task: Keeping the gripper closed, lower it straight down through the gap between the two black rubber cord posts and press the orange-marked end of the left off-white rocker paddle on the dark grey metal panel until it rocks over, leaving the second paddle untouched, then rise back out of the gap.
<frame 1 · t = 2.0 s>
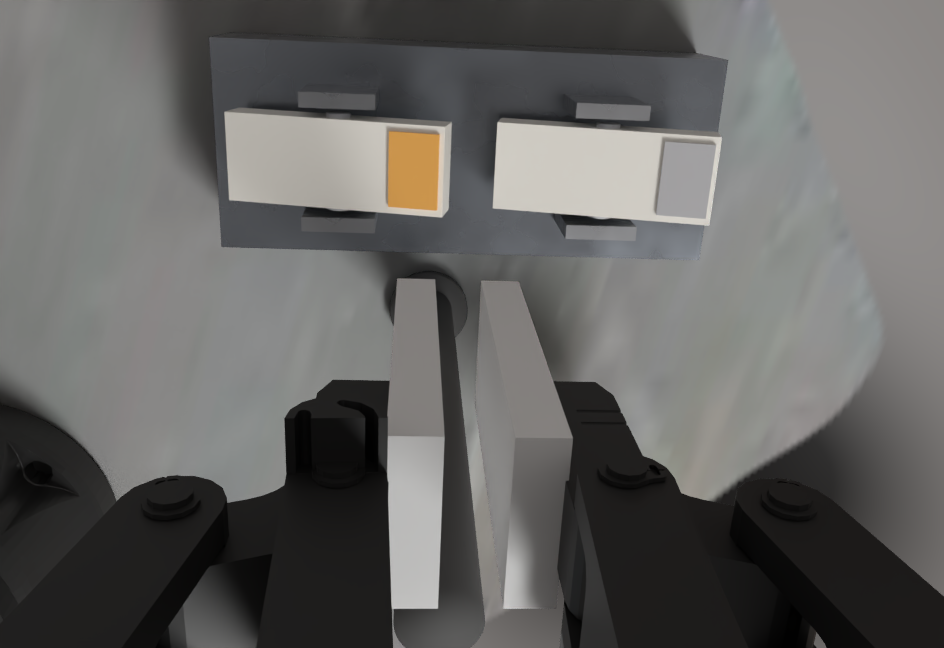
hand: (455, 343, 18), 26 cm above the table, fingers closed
paddle b: (603, 171, 36), point 7 cm above the table, hinge at -12.0°
panel: (464, 139, 42), on the table
paddle a: (338, 161, 35), point 7 cm above the table, hinge at -12.0°
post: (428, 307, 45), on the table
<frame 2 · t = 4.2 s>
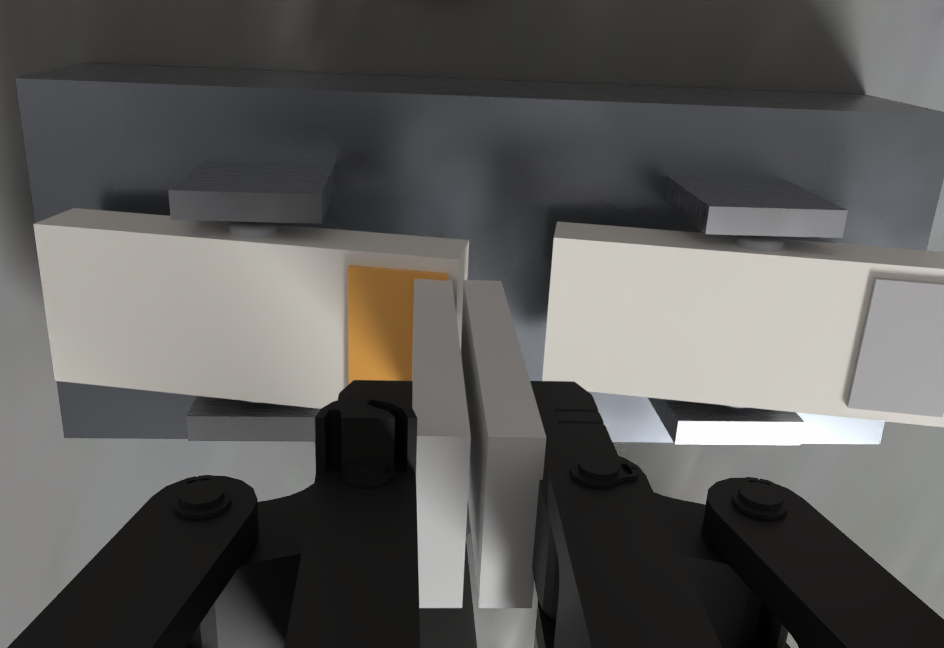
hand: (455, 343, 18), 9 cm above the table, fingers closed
paddle b: (746, 322, 20), point 7 cm above the table, hinge at -12.0°
panel: (482, 235, 26), on the table
paddle a: (255, 313, 19), point 7 cm above the table, hinge at -11.8°, touching gripper
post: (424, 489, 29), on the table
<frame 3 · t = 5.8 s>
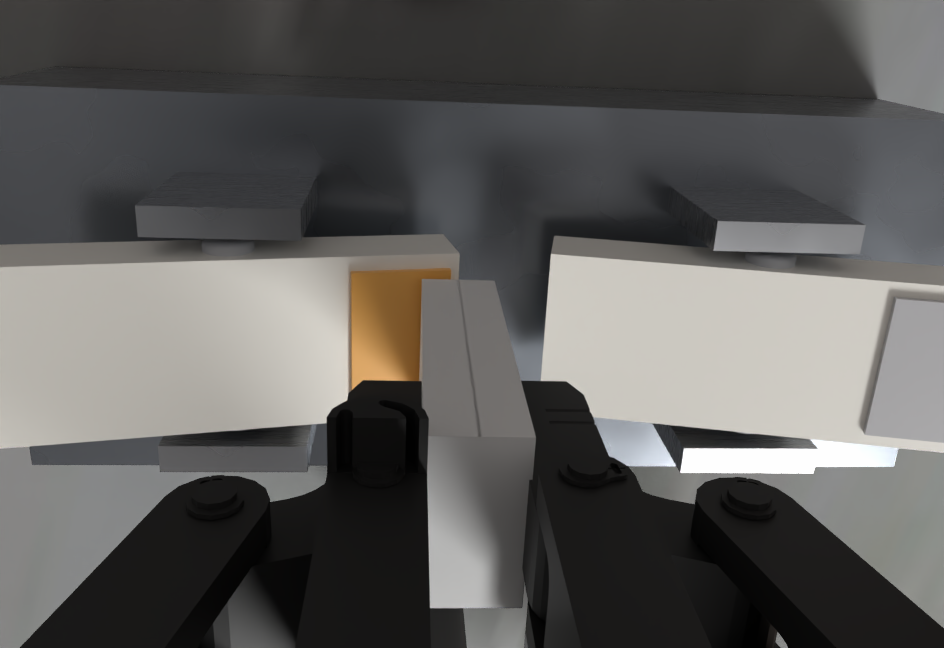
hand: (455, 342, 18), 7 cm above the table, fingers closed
paddle b: (756, 343, 18), point 7 cm above the table, hinge at -12.0°
panel: (475, 246, 25), on the table
paddle a: (233, 335, 18), point 7 cm above the table, hinge at 10.6°, touching gripper
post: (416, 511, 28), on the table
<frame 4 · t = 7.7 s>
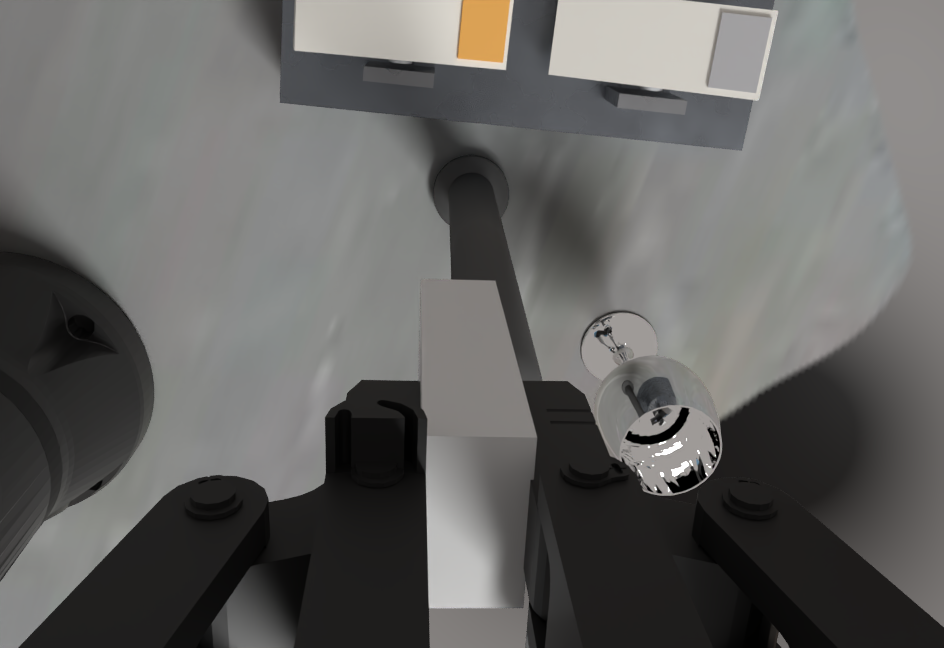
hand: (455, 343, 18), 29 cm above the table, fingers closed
paddle b: (659, 43, 37), point 7 cm above the table, hinge at -12.0°
panel: (519, 23, 43), on the table
paddle a: (404, 14, 36), point 7 cm above the table, hinge at 11.2°
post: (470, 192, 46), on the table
wineglass: (618, 346, 50), on the table
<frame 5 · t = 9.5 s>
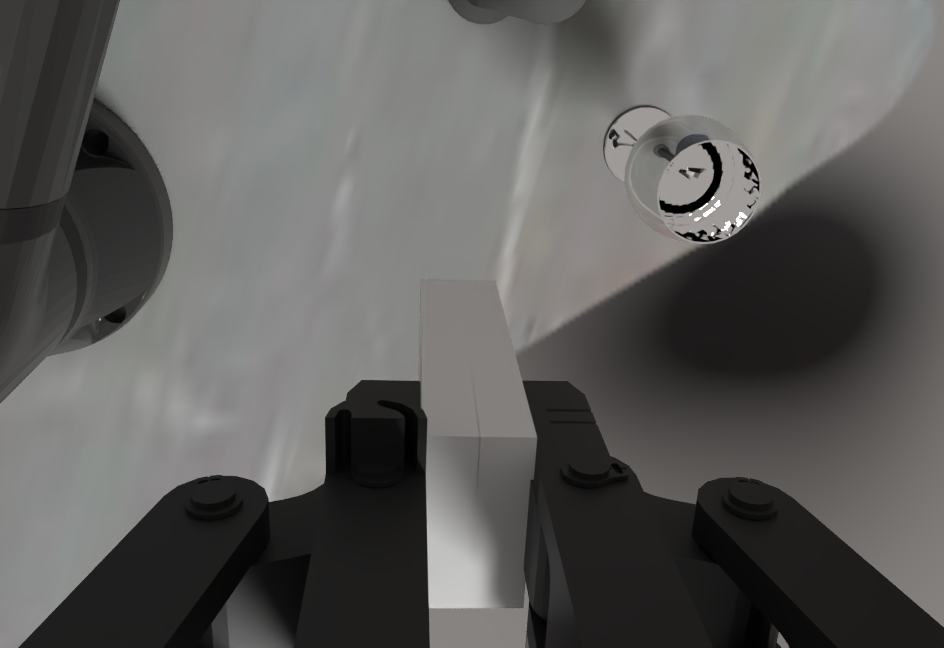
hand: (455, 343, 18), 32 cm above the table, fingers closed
wineglass: (642, 146, 49), on the table
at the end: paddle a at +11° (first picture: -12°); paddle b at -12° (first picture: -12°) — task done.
